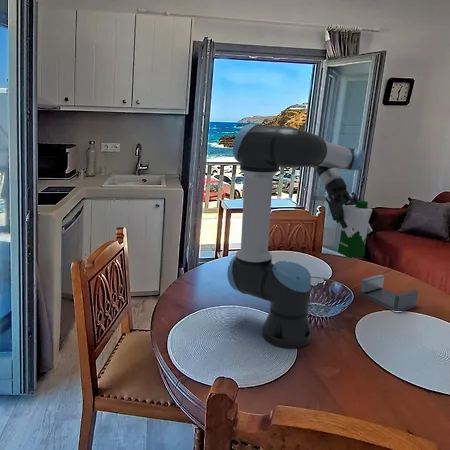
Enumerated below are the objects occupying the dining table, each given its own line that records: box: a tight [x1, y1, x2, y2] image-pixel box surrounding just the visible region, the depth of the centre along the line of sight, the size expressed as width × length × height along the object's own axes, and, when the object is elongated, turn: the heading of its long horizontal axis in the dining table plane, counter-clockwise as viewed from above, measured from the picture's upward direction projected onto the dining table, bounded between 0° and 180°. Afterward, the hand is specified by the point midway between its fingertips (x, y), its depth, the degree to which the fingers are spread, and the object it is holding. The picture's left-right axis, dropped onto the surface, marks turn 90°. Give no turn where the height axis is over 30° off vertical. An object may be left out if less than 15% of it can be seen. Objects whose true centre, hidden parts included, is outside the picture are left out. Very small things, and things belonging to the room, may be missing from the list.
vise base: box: [360, 287, 419, 312], centre depth 167 cm, size 17×11×6 cm, turn 32°
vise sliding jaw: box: [360, 274, 385, 292], centre depth 173 cm, size 2×11×5 cm, turn 122°
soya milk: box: [336, 200, 373, 259], centre depth 161 cm, size 9×9×20 cm
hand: (360, 233), depth 159 cm, fingers closed on soya milk, 9 cm apart
